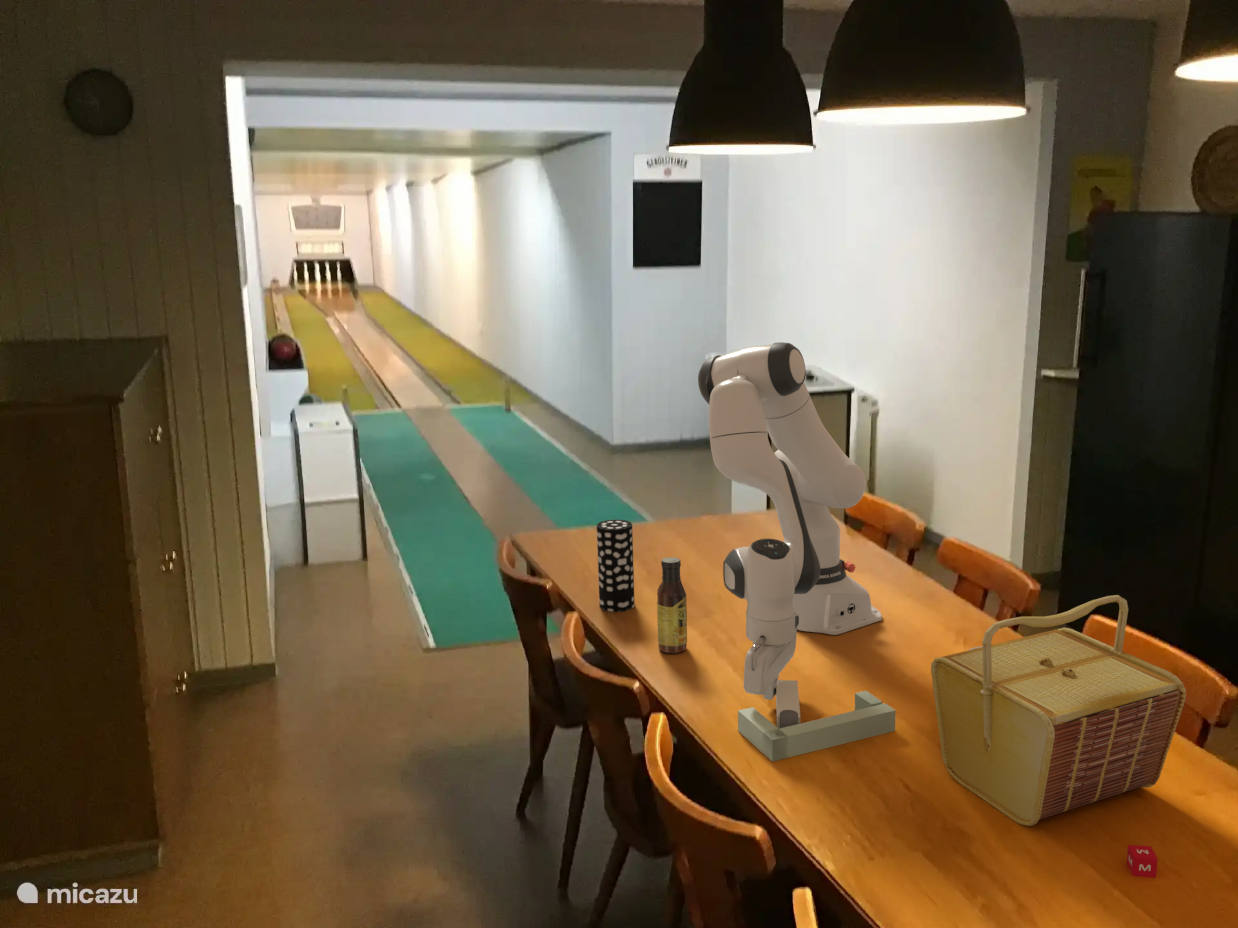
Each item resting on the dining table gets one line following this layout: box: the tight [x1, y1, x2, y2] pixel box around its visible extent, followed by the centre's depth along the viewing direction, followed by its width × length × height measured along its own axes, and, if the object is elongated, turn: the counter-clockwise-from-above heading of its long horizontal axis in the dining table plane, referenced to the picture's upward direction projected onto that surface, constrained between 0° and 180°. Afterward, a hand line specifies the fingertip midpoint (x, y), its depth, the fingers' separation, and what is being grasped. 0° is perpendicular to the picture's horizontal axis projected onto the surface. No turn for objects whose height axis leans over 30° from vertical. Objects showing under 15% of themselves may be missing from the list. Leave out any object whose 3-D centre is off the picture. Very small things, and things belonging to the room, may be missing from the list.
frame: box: [737, 690, 897, 762], centre depth 190 cm, size 25×12×4 cm, turn 112°
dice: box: [1126, 844, 1158, 879], centre depth 148 cm, size 3×3×3 cm
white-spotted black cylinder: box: [596, 519, 635, 613], centre depth 251 cm, size 8×8×20 cm
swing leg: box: [775, 679, 801, 729], centre depth 194 cm, size 17×4×4 cm, turn 173°
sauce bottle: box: [656, 556, 688, 654], centre depth 225 cm, size 7×6×20 cm
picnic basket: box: [930, 594, 1187, 827], centre depth 167 cm, size 29×26×30 cm
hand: (769, 697), depth 199 cm, fingers closed
